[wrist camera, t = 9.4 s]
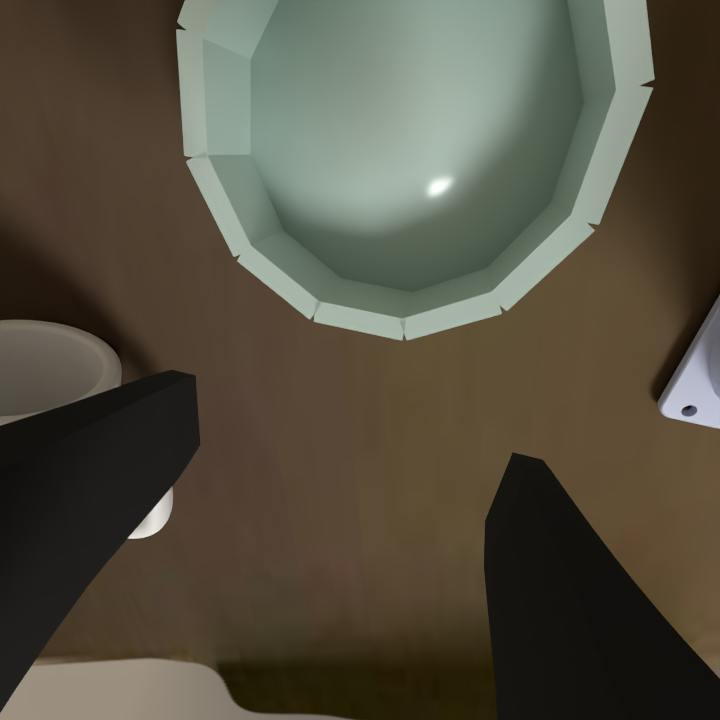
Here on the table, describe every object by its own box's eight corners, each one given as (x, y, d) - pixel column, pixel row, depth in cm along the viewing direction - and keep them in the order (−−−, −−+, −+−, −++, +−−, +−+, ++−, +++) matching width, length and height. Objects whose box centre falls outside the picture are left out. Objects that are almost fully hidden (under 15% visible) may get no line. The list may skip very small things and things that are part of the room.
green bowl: (683, -109, 11) (772, -213, 8) (526, 330, 17) (541, 370, 14) (233, -137, 12) (158, -232, 9) (238, 271, 18) (193, 295, 15)
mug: (34, 434, 27) (-116, 533, 20) (22, 301, 22) (-181, 370, 15) (200, 508, 26) (107, 635, 20) (226, 389, 22) (115, 502, 15)
